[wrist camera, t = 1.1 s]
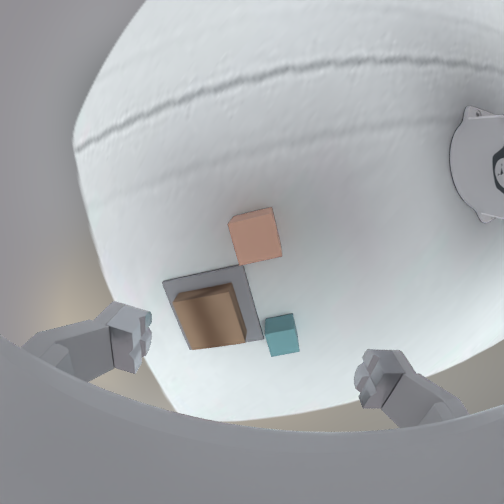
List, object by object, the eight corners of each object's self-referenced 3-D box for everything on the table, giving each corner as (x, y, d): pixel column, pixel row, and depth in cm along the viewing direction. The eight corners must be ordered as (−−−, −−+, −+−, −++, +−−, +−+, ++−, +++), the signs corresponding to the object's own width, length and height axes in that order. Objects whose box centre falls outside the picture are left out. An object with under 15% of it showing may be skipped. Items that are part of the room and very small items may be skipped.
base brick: (231, 282, 37) (228, 292, 34) (247, 330, 39) (245, 342, 36) (178, 292, 38) (172, 302, 35) (196, 338, 40) (192, 349, 37)
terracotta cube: (271, 206, 34) (271, 213, 30) (280, 244, 36) (282, 256, 31) (233, 216, 35) (227, 224, 30) (243, 252, 36) (239, 265, 32)
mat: (242, 264, 37) (242, 265, 36) (263, 337, 40) (263, 339, 40) (163, 281, 38) (162, 282, 38) (190, 347, 42) (189, 349, 41)
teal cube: (292, 313, 39) (294, 328, 35) (297, 335, 40) (299, 351, 36) (265, 319, 39) (264, 334, 35) (271, 340, 40) (271, 356, 37)
